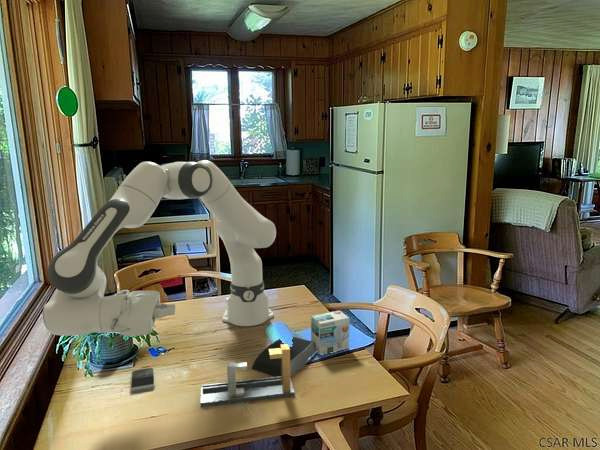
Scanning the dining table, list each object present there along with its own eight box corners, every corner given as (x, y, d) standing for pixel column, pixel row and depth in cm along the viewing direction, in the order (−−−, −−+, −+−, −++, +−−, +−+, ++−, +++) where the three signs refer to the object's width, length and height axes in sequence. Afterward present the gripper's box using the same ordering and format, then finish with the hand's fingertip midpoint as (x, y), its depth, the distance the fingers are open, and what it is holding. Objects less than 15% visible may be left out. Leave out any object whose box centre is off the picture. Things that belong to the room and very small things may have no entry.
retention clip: (228, 392, 117) (226, 362, 115) (247, 390, 118) (246, 360, 116) (228, 397, 115) (227, 367, 113) (248, 395, 116) (247, 364, 114)
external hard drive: (320, 352, 141) (320, 340, 140) (287, 382, 125) (286, 369, 124) (284, 343, 148) (284, 331, 147) (249, 370, 131) (248, 357, 130)
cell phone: (154, 371, 131) (154, 366, 131) (155, 391, 121) (154, 386, 121) (131, 374, 129) (131, 370, 129) (130, 396, 119) (130, 391, 119)
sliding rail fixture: (201, 391, 120) (198, 346, 117) (290, 381, 124) (289, 337, 121) (200, 407, 113) (197, 359, 110) (294, 396, 117) (294, 349, 115)
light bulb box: (319, 356, 138) (319, 323, 135) (310, 347, 144) (310, 315, 141) (350, 349, 142) (350, 317, 140) (339, 340, 148) (339, 309, 146)
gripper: (106, 318, 100) (170, 313, 103) (123, 287, 120) (177, 284, 122) (108, 345, 101) (172, 339, 104) (125, 310, 121) (178, 306, 124)
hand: (175, 309), depth 113 cm, fingers closed
